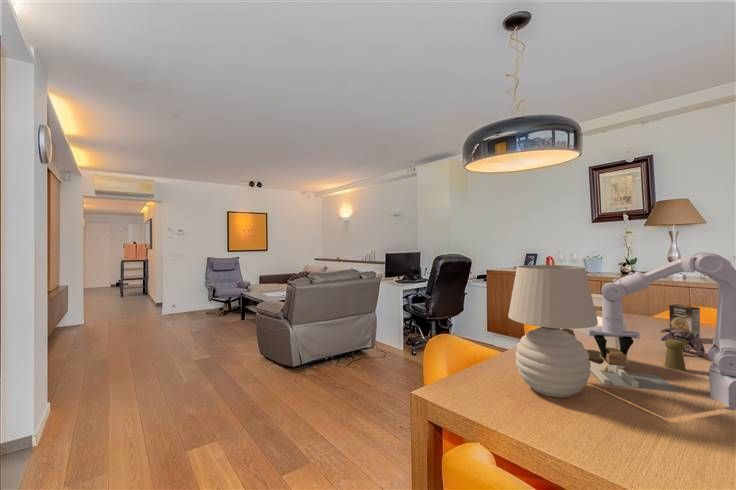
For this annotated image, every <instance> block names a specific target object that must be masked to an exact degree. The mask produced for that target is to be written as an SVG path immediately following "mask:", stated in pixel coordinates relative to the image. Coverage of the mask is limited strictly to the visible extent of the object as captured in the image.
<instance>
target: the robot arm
mask: <svg viewBox="0 0 736 490" xmlns="http://www.w3.org/2000/svg"><path fill="white" fill-rule="evenodd" d="M696 272H697V273H700V274H703V275H705V276H707V277H708V278H709V279H711V280H712V281H713V282H715V283H716V284H717V285H718V291H717V303H716V304H717V306H716V324H715V325H716V327H715V336H714V338H713V340H712V345H711V347H710V348H709V349H708V352H707V356H708V359H709V360H710V361H711V362H712V363H711V365H709V396H710V397H711V398H712V399H714V400H716V401H719V402H721V403H722V404H724V405H725V406H727V407H724V410H725V409H726V410H735V411H736V269H735V267H734V265H732V263H731V261H730V260H728V259H726V258H724V257H723V256H721V255H719V254H717V253H714V252H713V253H711V252H710V253H709V252H705V251H704V252H702V251H701V252H698V253H695V254H693V255H688V256H683V257H680V258H678V259H674V260H673V261H670V262H668V263H665V264H663V265H661V266H659V267H656V268H654V269H651V270H649V271H647V272H639V271H636V272H633V271H631V272H628V275H626V276H624V277H620V278H618V279H617V278H614V279H613V280H612V281H613V282H607V283H605V284H604V285H603V286H602V287H601V295H603V298H602V302H603V304H602V307H601V317H602V329H587V336H589V337H593V338H594V340H595V342H596V344H597V346H598V349H599V352H601V357H603V358H606V345H607V339H606V338H605V337H604V336H606V337H619V342H620V351H621V352H623V353H624V354H625V355H627V356H628V351H629V350H630V348H631V346H632V345H633V344H634V339H636V340H638V339H639V340H640V332H638V331H635V330H634V331H631V330H627V331H624V330H623V317H624V308H623V304H622V302H623V301H622V299H623V297H624V296H630V295H633V294H635V293H637V292H640V291H643V290H645V289H648V288H649V287H650V284H651V283H652V282H655V281H659V280H661V279H663V278H664V279H665V278H666V277H667V278H668V277H670V276H673V275H675V274H678V273H691V274H692V273H696Z"/></svg>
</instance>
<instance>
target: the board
mask: <svg viewBox="0 0 736 490" xmlns="http://www.w3.org/2000/svg"><path fill="white" fill-rule="evenodd" d="M590 370H591V371H590V375H591V374H592V376H593V377H594V378H595V379H596V380H597V381H598V382H599V383H600V384H601V386H609V387H610V386H611V387H620V388H621V387H622V388H630V389H631V388H632V389H642V390H643V389H645V390H652V391H653V390H655V391H666V392H676V393H681V392H682V391H681V390H679V389H678V388H676V387H675V386H674V385H672V384H671V383H669V382H668V381H667V380H665V379H664V378H662V377H661V376H659V375H658V374H652V373H638V372H627V371H625V370H624V368H623V369H621V368H617V373H614V372H610V371H608V366H606V365H604V370H601V369H597V368H596V367H595V366H591V367H590Z"/></svg>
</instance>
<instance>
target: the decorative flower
mask: <svg viewBox="0 0 736 490" xmlns="http://www.w3.org/2000/svg"><path fill="white" fill-rule="evenodd" d="M670 332H672V333H670ZM660 333H667V334H665V335H664V336H662V338H661V339H660V340H661V341H662V342H665V341H666V340H668V339H674V340H679V341H681V342H683V344H684V349H683V350H682V352H684V351H685V352H690V351H695V352H697V353H698V355H699V358H703V357H705V354H706V352H705V351H706V350H705V347H704V345H703V343H702V341H701V339H700V340H699V339H698V338H697V337H695V336H694V335H693V333H692V332H690V331H684V330H681V329H676V328H670V327H669V328H664V329H662V330H661V331H660Z"/></svg>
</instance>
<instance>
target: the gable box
mask: <svg viewBox="0 0 736 490" xmlns="http://www.w3.org/2000/svg"><path fill="white" fill-rule="evenodd" d="M591 295H592V300H593V304H594V307H600V308H602V304H603V302H602V298H603V295H602V293H601V294H599V293H591ZM596 316H597V321H598V324H597V325H596V326H594V327H590V328H579V329H563V328H560V329H561V330H564V331H566V332H568V333H569V334H572V335H573V336H575V337H576V335H575V333H574V331H576V332H579V333H582V334H587V329H602V315H601V316H600V315H599V316H598V315H596ZM623 330H624V331H628V322H627V319H625V317H624V316H623ZM604 337H605V339H606V340H607V342H606V347H615V348H617V349H618V350H620V342H619V337H606V336H604ZM586 350H587V352H588V353H589V361H590V363H591V366H595V367H596V368H597V369H598V370H604V365H606V366H608V371H610V372H614V373H617V368H621V369H623V370H624V368H625V367H626V366H618V365H609V364H608V363H606V362H605V361H604V360H603V359H602V358H601V357H600V350H599V351H598V350H594V349H586ZM626 356H627V366H628V364H629V363H628V360H629V359H628V358H629V357H628V354H627V355H626ZM592 360H594V361H598V360H603V362H602V363H598V362H594V361H592Z"/></svg>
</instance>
